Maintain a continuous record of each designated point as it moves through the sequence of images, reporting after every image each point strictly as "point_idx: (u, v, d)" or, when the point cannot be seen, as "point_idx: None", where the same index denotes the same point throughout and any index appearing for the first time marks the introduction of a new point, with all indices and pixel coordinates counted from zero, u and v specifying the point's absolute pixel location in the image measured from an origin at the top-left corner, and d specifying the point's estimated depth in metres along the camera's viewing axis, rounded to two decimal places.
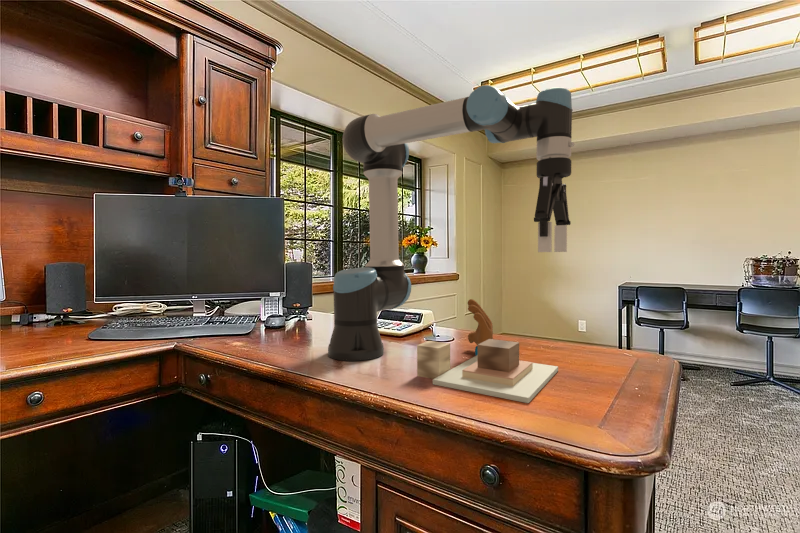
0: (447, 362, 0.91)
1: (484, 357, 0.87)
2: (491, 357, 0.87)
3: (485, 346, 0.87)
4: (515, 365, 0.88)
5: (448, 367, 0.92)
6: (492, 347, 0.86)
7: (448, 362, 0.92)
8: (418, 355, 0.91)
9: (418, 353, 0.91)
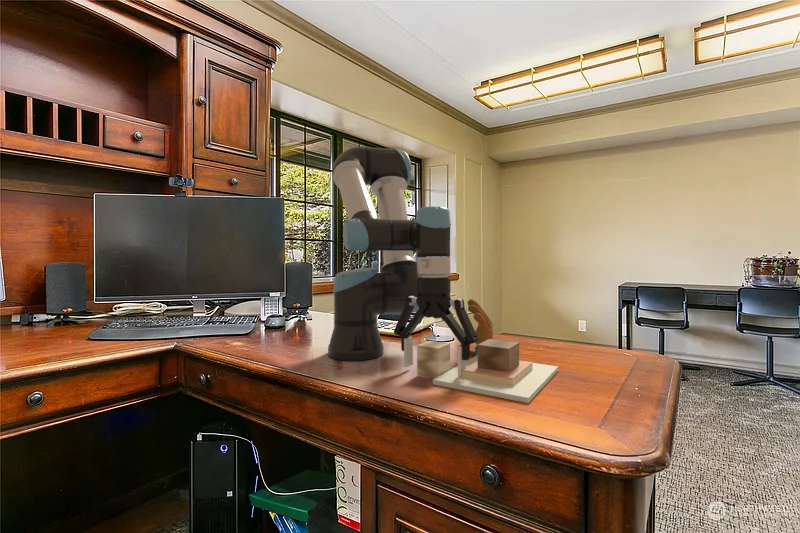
0: (447, 362, 0.91)
1: (484, 357, 0.87)
2: (491, 357, 0.87)
3: (485, 346, 0.87)
4: (515, 365, 0.88)
5: (448, 367, 0.92)
6: (492, 347, 0.86)
7: (448, 362, 0.92)
8: (418, 355, 0.91)
9: (418, 353, 0.91)
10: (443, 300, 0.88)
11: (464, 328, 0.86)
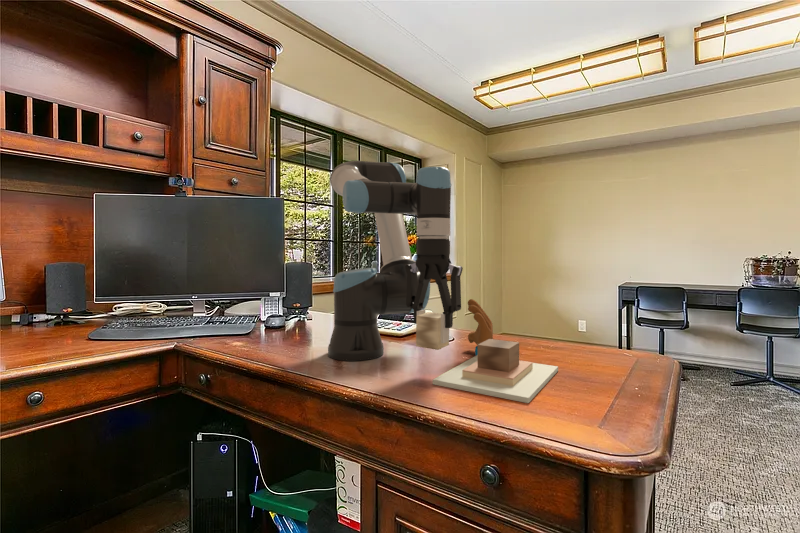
0: None
1: (484, 357, 0.87)
2: (491, 357, 0.87)
3: (485, 346, 0.87)
4: (515, 365, 0.88)
5: None
6: (492, 347, 0.86)
7: None
8: (417, 325, 0.91)
9: (417, 323, 0.91)
10: (443, 261, 0.88)
11: (452, 295, 0.87)
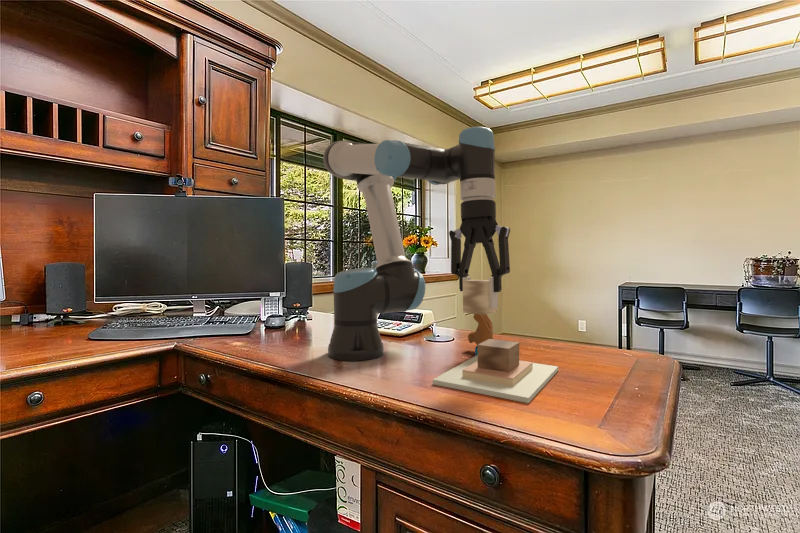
0: None
1: (484, 357, 0.87)
2: (491, 357, 0.87)
3: (485, 346, 0.87)
4: (515, 365, 0.88)
5: None
6: (492, 347, 0.86)
7: None
8: (464, 291, 0.88)
9: (464, 289, 0.88)
10: (490, 223, 0.86)
11: (500, 257, 0.84)
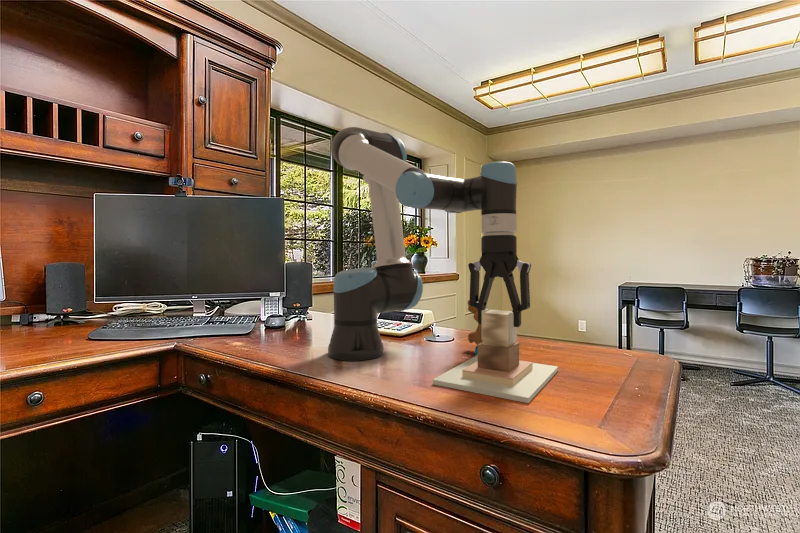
0: None
1: (484, 357, 0.87)
2: (491, 357, 0.87)
3: (485, 346, 0.87)
4: (515, 365, 0.88)
5: None
6: (492, 347, 0.86)
7: None
8: (483, 323, 0.88)
9: (483, 321, 0.88)
10: (511, 258, 0.86)
11: (522, 293, 0.85)
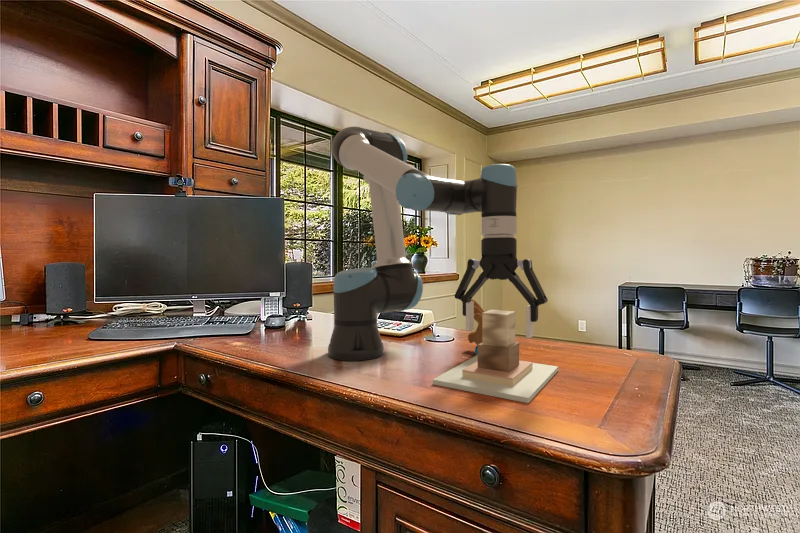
0: (513, 330, 0.89)
1: (484, 357, 0.87)
2: (491, 357, 0.87)
3: (485, 346, 0.87)
4: (515, 365, 0.88)
5: (514, 335, 0.89)
6: (492, 347, 0.86)
7: (514, 330, 0.89)
8: (483, 323, 0.88)
9: (483, 321, 0.88)
10: (510, 260, 0.86)
11: (534, 288, 0.83)
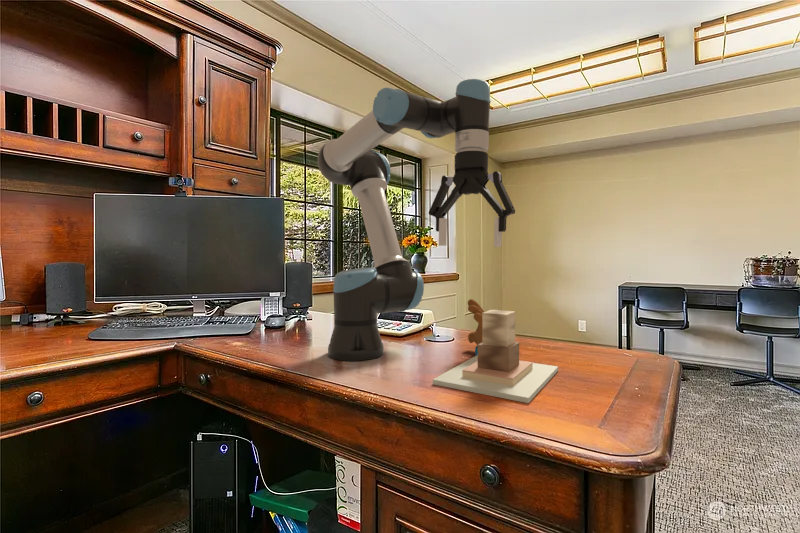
0: (513, 330, 0.89)
1: (484, 357, 0.87)
2: (491, 357, 0.87)
3: (485, 346, 0.87)
4: (515, 365, 0.88)
5: (514, 335, 0.89)
6: (492, 347, 0.86)
7: (514, 330, 0.89)
8: (483, 323, 0.88)
9: (483, 321, 0.88)
10: (481, 174, 0.90)
11: (502, 199, 0.87)
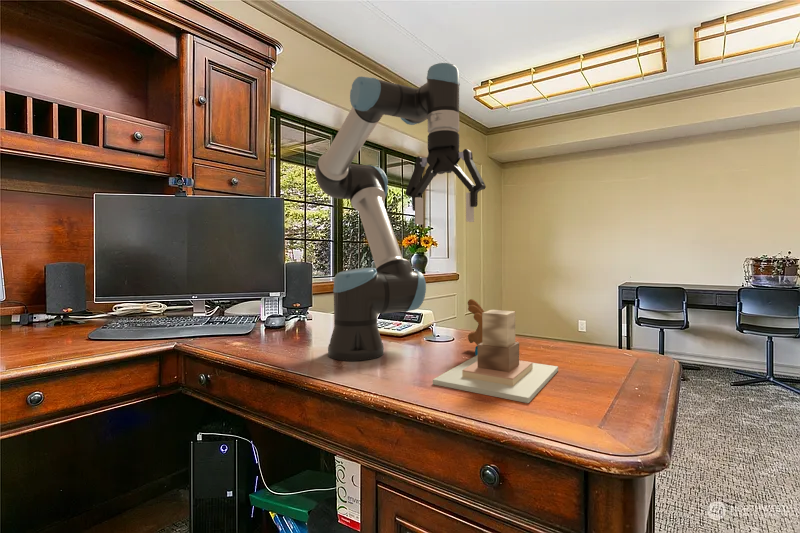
0: (513, 330, 0.89)
1: (484, 357, 0.87)
2: (491, 357, 0.87)
3: (485, 346, 0.87)
4: (515, 365, 0.88)
5: (514, 335, 0.89)
6: (492, 347, 0.86)
7: (514, 330, 0.89)
8: (483, 323, 0.88)
9: (483, 321, 0.88)
10: (452, 152, 0.94)
11: (472, 175, 0.91)
